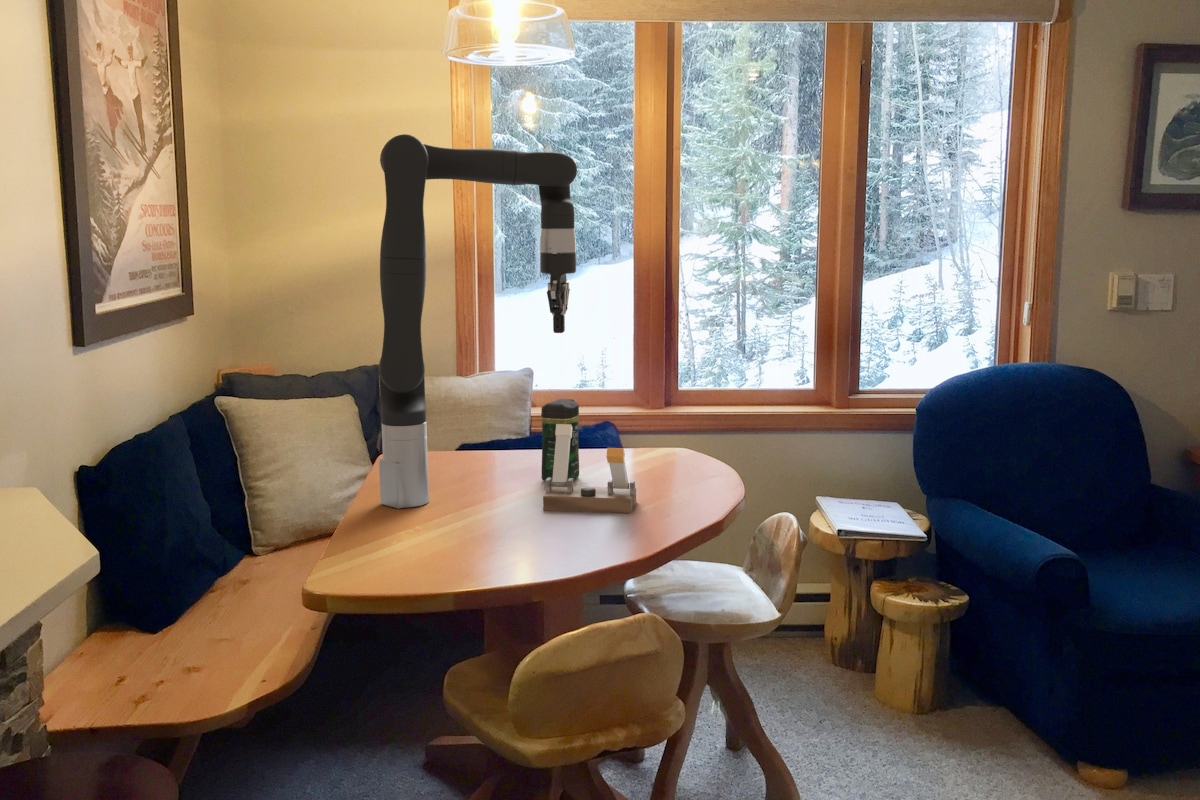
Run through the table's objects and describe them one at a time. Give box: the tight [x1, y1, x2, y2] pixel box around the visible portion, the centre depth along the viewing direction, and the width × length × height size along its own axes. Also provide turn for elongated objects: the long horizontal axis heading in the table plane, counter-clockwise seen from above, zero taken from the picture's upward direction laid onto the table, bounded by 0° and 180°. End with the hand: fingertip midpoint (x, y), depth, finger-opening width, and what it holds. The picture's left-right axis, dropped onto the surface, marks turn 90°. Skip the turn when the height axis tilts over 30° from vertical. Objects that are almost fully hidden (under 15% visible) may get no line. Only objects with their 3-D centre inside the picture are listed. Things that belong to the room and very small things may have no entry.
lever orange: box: [606, 447, 630, 489], centre depth 211 cm, size 2×3×13 cm
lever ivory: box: [551, 424, 573, 487], centre depth 220 cm, size 2×3×13 cm, turn 81°
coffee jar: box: [540, 398, 580, 482], centre depth 239 cm, size 10×8×19 cm
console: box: [542, 478, 637, 514], centre depth 217 cm, size 9×18×6 cm, turn 81°
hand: (559, 332), depth 224 cm, fingers closed
